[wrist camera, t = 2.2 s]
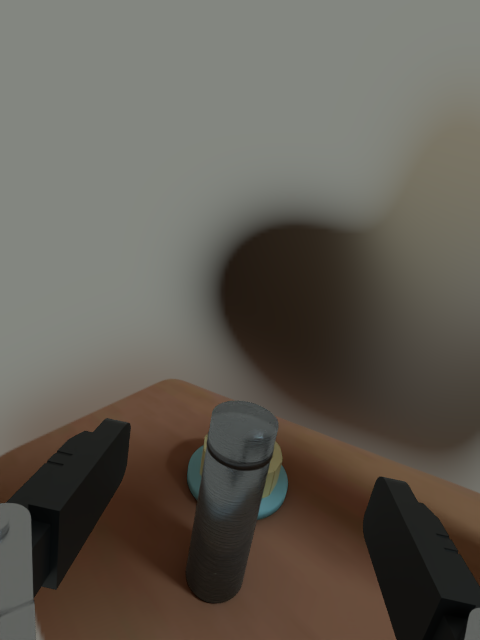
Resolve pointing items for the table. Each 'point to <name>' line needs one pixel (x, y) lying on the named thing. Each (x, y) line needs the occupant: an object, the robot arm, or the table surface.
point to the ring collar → (273, 486)
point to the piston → (229, 498)
